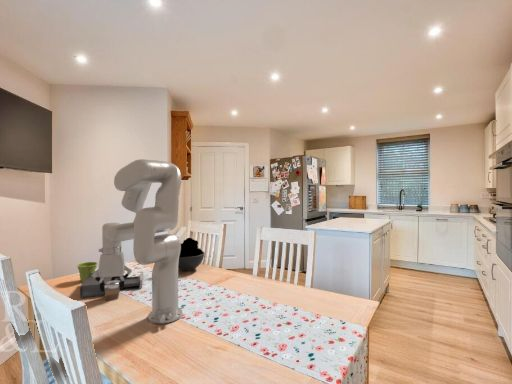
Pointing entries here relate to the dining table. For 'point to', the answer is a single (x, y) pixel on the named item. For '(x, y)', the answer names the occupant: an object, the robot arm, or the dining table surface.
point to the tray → (132, 281)
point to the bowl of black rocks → (190, 255)
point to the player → (93, 286)
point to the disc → (111, 284)
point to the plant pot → (86, 269)
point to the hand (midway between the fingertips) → (112, 289)
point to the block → (111, 294)
